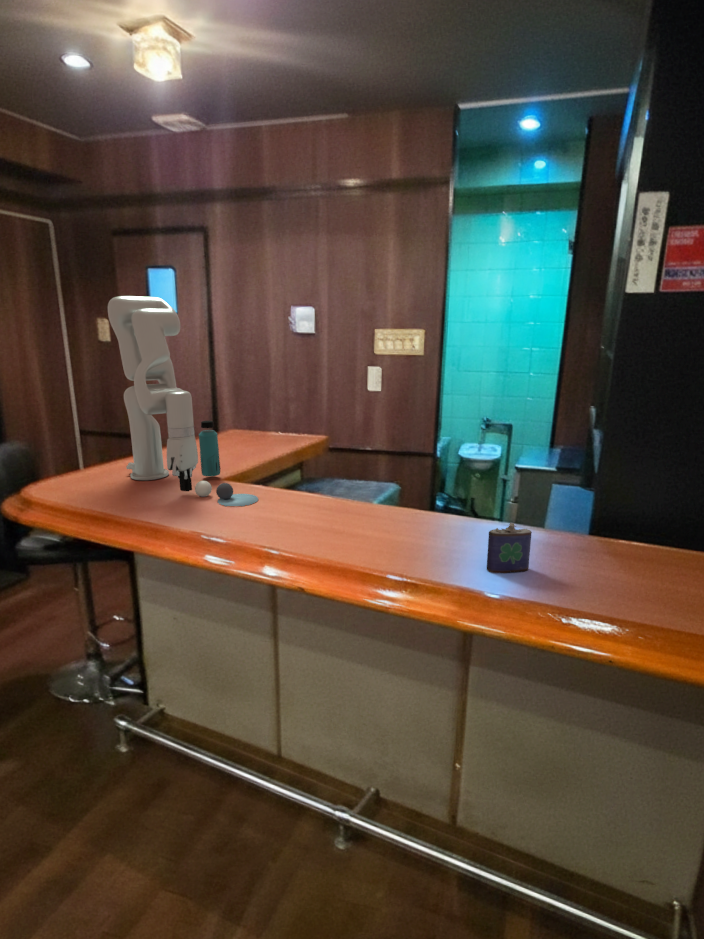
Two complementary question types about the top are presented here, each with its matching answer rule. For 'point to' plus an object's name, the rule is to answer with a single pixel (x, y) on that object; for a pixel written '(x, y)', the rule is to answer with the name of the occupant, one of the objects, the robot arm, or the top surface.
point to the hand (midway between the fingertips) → (186, 490)
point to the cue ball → (203, 488)
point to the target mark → (239, 500)
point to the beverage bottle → (209, 450)
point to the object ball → (224, 491)
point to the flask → (508, 550)
